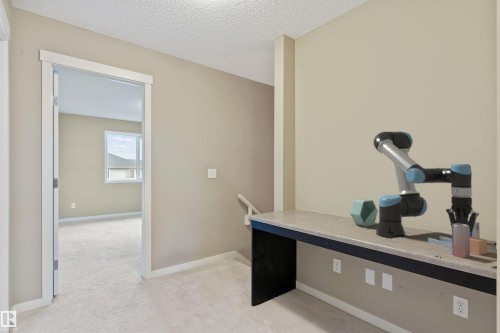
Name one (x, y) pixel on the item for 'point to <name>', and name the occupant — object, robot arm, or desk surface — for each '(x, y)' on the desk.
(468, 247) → the beverage can
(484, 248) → the block
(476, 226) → the walkman
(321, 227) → the desk surface
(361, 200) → the teal faceted polyhedron
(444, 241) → the chute
